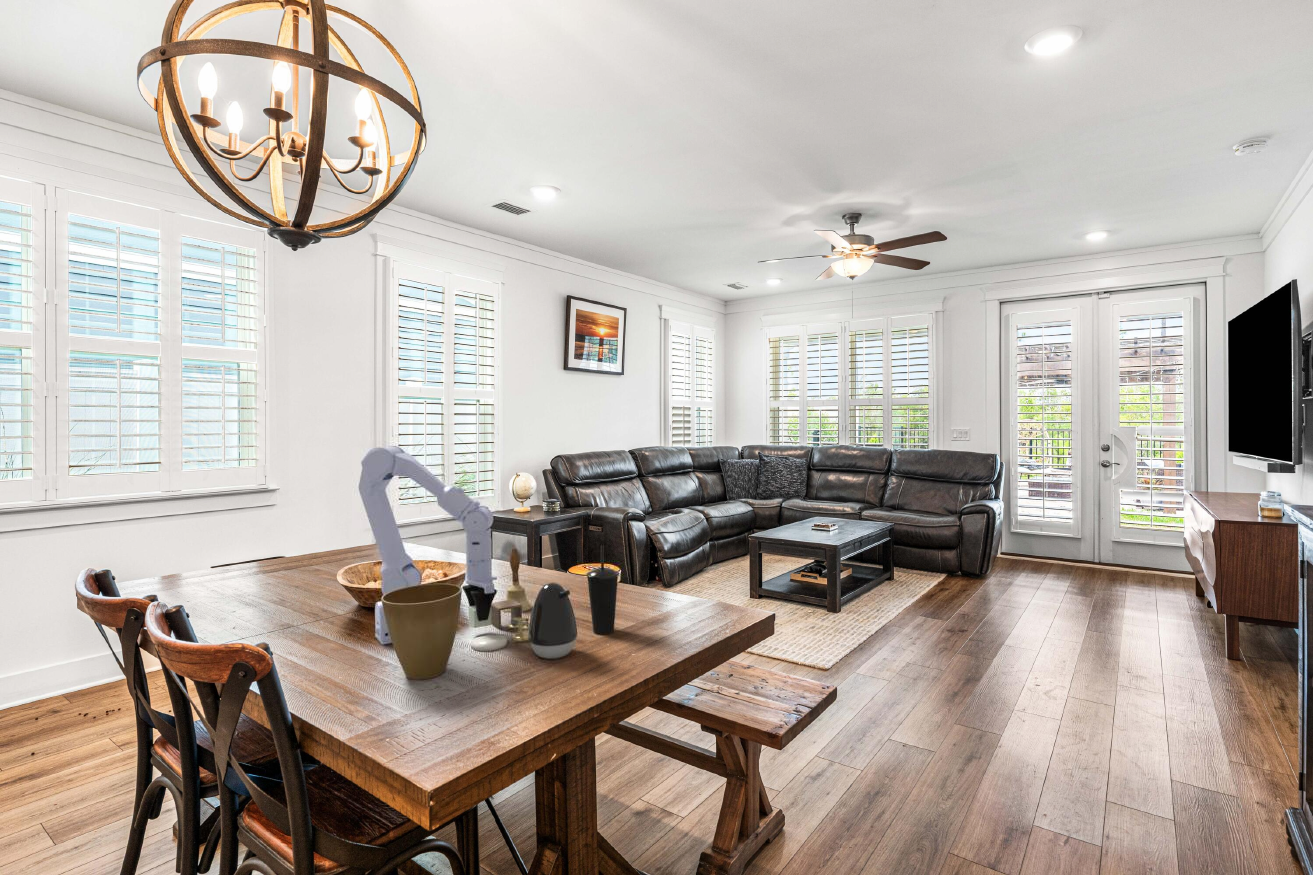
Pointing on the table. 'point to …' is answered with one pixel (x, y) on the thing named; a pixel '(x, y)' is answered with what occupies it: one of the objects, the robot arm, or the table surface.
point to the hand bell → (516, 584)
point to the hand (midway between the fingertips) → (479, 617)
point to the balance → (519, 629)
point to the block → (474, 620)
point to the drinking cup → (603, 597)
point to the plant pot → (423, 626)
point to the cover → (503, 605)
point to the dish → (489, 643)
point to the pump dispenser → (552, 623)
